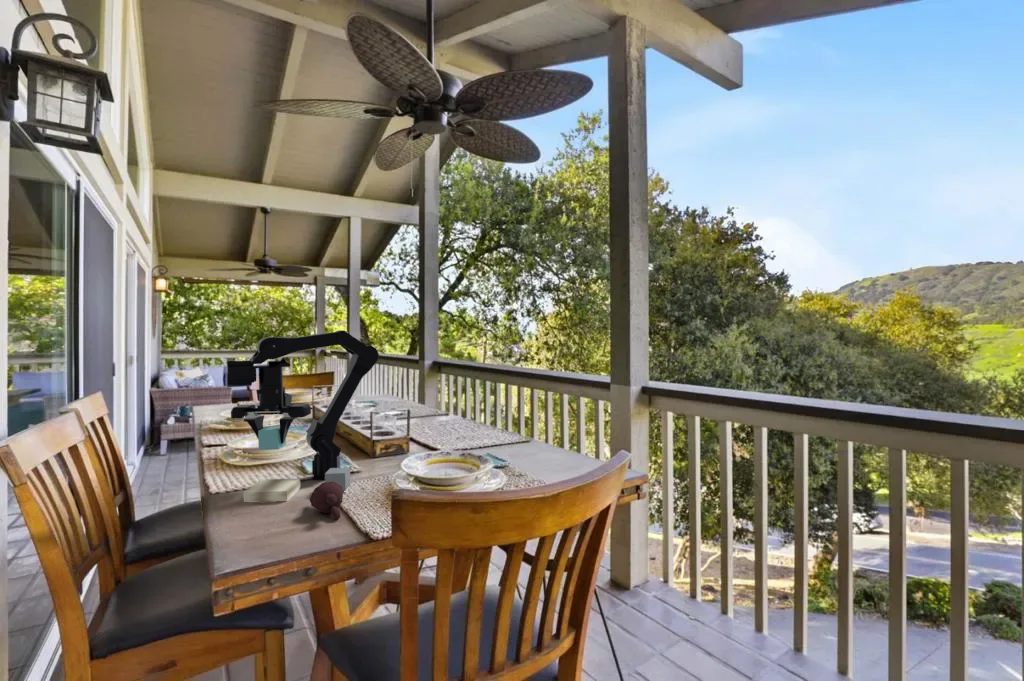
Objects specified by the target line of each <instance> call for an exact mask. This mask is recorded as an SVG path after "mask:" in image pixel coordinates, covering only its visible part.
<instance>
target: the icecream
mask: <svg viewBox="0 0 1024 681" xmlns="http://www.w3.org/2000/svg"><path fill="white" fill-rule="evenodd" d="M344 493H345V492H344V491H343V488H342V486H341V485H339V484H337V483H335V482H325V481H324V482H321V484H319V486H316V487H314V489H313V491H312V493H311V495H310V497H309V499H308V500H309V502H310V505H311V507H313V508H314V509H316V510H317V512H320V513H325V514H330V513H331V515H332V517H333V519H334V520H335V521H337V520H339V519H340V518H341V511H340V509H339V507H340V505H342V503H343V499H344V498H343V496H344Z"/></svg>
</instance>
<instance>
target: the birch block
mask: <svg viewBox="0 0 1024 681" xmlns="http://www.w3.org/2000/svg"><path fill="white" fill-rule="evenodd" d="M300 490H301V478H272V479H271V478H270V479H269V478H267V479H259V480H258V481H257V482H255V483H254V484H253V485H252V486H250V487H248V488H247V489H246V490H245V491H243V503H244V502H261V503H277V502H276V501H287V502H288V501H289V500H290V499H291V498H292V497H293V496H294V495H295V494H296V493H297V492H298V491H300Z"/></svg>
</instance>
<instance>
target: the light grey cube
mask: <svg viewBox="0 0 1024 681" xmlns="http://www.w3.org/2000/svg"><path fill="white" fill-rule="evenodd" d="M324 482H335V483H337V484H339V485H341V486H342V488H343V491H345V490H346V489H347V488H348V487H349V486H350V487H351V468H350V467H340V468H330V469H329V470H328V471H327V472H326V473H325V479H324ZM350 487H349V488H350Z"/></svg>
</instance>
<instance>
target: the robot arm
mask: <svg viewBox="0 0 1024 681" xmlns="http://www.w3.org/2000/svg"><path fill="white" fill-rule="evenodd" d="M338 345H339V346H340V347H342V348H343V349H344V350H345V351H346V352H348V353H349V354H351V358H350V361H349V365H348V370H347V372H346V374H345V376H344V378H343V379H342V381H341V383H340V385H339V387H338V388H337V391H336V392H335V394H334V396H333V397H332V400H331V401H330V403H329V405H328V407H327V409H326V410H325V412H324V414H323V415H322V416H321V417H320V418H319V419H318V420H317V419H315V418H313V419H312V421H311V422H310V423H311V424H310V426H309V428H307V429H306V431H305V432H306V433H307V434H306V437H305V439H306V443H307V444H308V445H309V446H310V448H311V449H312V450H313V451H314V452H315V454H314V455H313V460H312V461H311V467H312V468H311V469H312V470H311V471H312V474H311V475H312V477H311V478H312V480H325V473H326V472H327V471H328V470H329V469H330V468H341V451H342V448H341V447H340V446H339V445H337V443H336V442H334V439H335V436H336V434H337V427H338V423H339V420H340V419H341V417H342V415H343V414H344V411H346V408H347V406H348V405H349V402H350V400H352V397H353V396H354V393H355V391H356V390H357V388H358V387H359V384H360V382H361V381H362V379H363V378H364V376H366V375H367V374H368V373H369V372H370V371H371V370H372V369H373V367H374V366H375V365H376V364H377V362H378V361H379V358H380V354H379V351H378V350H377V348H376V347H375V346H373V345H369V344H368V345H367V344H366V343H364V342H362V341H361V340H359V339H357V338H356V337H354V336H352V334H350V333H349V332H348V331H346V330H336V331H332V332H325V333H324V332H323V333H319V334H318V333H317V334H311V335H310V334H308V335H302V336H297V337H295V336H294V337H288V336H287V337H285V336H284V337H283V336H266V337H263V338H261V339H259V341H258V343H257V346H256V347H257V348H256V351H255V352H254V354H253V355H252V356H251V357H250V359H249V360H247V359H245V360H233V359H231V360H227V361H226V372H225V373H226V374H225V375H226V376H225V378H226V380H225V381H226V388H238V387H252V385H253V383H255V382H257V369H258V389H256V394H257V395H258V400H259V401H258V402H259V403H258V405H257V406H256V405H255V404H239V405H237V406H233V407H232V409H231V410H230V419H243V422H245V423H247V424H248V425H249V426H250V427H251V430H252V431H253V432H254V434H255V436H256V438H257V439H258V431H259V430H261V429H263V428H264V420H265V415H282V416H283V417H281V418H280V419H279V427H280V439H281V443H282V444H283V443H284V442H285V439H286V440H287V436H288V432H289V430H290V427H291V425H292V423H293V421H294V420H295V419H298V418H305V417H307V416H309V415H311V414H312V406H311V405H310V404H309V403H293V404H292V398H293V395H291V394H289V393H287V392H286V387H285V386H284V381H283V378H284V377H283V376H284V375H283V368H286V367H287V368H289V367H291V364H290V362H288V361H287V360H286V359H285V358H284V356H288V355H290V354H293V353H296V352H299V351H305V350H312V349H319V348H326V347H333V346H338ZM278 358H280V360H276V359H278ZM267 360H268V361H267ZM269 360H270V361H269ZM266 361H267V362H266ZM264 362H266V363H267V364H263V363H264ZM262 364H263V365H262Z"/></svg>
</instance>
